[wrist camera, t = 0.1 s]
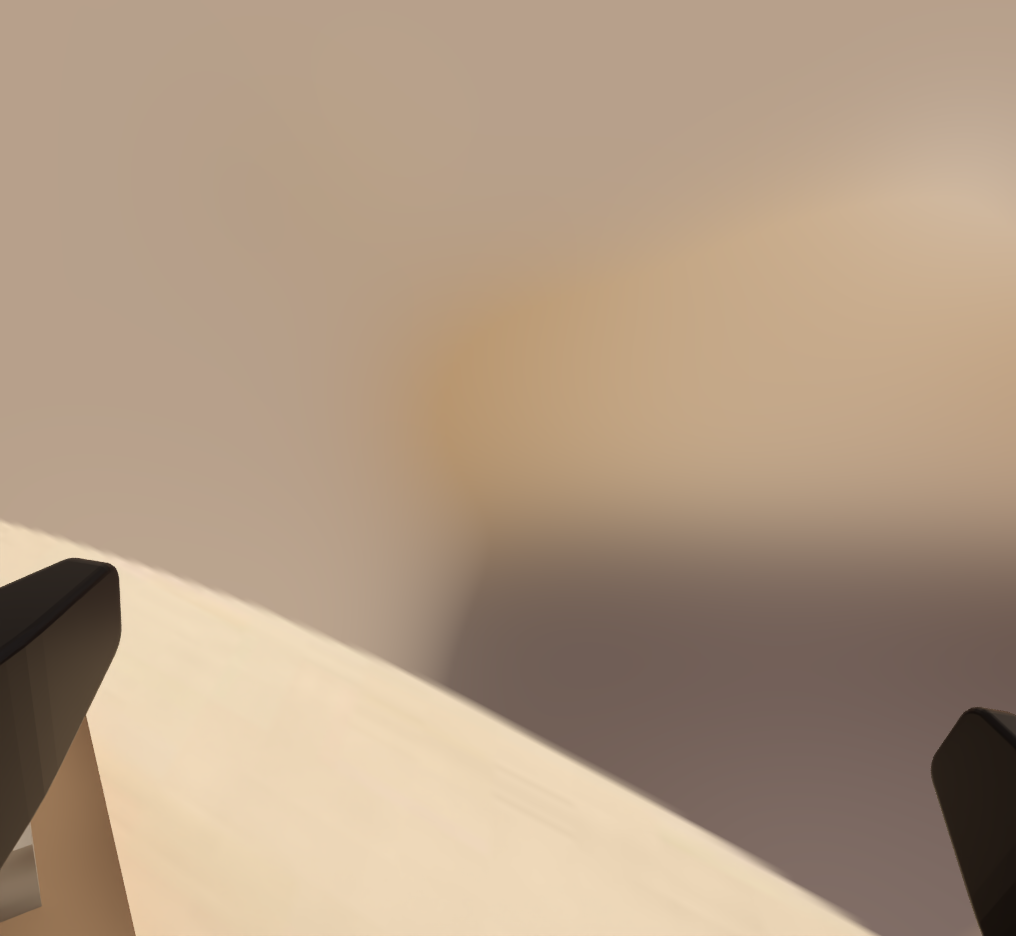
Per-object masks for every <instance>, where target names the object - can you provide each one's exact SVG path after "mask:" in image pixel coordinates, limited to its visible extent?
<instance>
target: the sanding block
mask: <svg viewBox="0 0 1016 936" xmlns="http://www.w3.org/2000/svg"><path fill="white" fill-rule="evenodd" d="M41 906H42V903H41V896H40V889H39V881H38V874H37V867H36V859H35V852H34V844H33V837H32V830H31V822H30V823H29V825H28V827H27V828H26V830H25V831H24V833H23V835H22V836H21V838H20V839H19V841H18V843H17V844H16V846H15V847H14V849H13V851H12V852H11V854H10V856H9V857H8V859H7V860H6V862H5V864H4V865H3V867H2V868H1V870H0V923H1V922H3V921H6V920H8V919H11V918H14V917H16V916H19V915H21V914H24V913H26V912H29V911H31V910H34V909H36V908H39V907H41Z"/></svg>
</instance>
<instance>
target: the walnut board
mask: <svg viewBox="0 0 1016 936" xmlns="http://www.w3.org/2000/svg"><path fill="white" fill-rule="evenodd" d="M31 830H32V837H33V844H34V852H35V859H36V867H37V874H38V881H39V889H40V896H41V903H42V906H41V907H39V908H36V909H34V910H31V911H29V912H26V913H24V914H21V915H19V916H16V917H14V918H11V919H8V920H6V921H3V922H1V923H0V936H136V935H135V931H134V926H133V922H132V918H131V913H130V909H129V904H128V900H127V895H126V891H125V886H124V882H123V878H122V873H121V869H120V864H119V860H118V855H117V851H116V847H115V842H114V838H113V833H112V829H111V824H110V820H109V815H108V811H107V807H106V802H105V798H104V793H103V789H102V784H101V780H100V775H99V771H98V767H97V762H96V758H95V753H94V749H93V744H92V740H91V736H90V731H89V727H88V722H87V718H86V716H85V718H84V720H83V722H82V724H81V726H80V728H79V730H78V732H77V734H76V736H75V738H74V740H73V742H72V744H71V746H70V748H69V751H68V753H67V755H66V757H65V759H64V761H63V763H62V765H61V767H60V769H59V771H58V773H57V775H56V777H55V779H54V781H53V783H52V785H51V787H50V789H49V791H48V792H47V794H46V796H45V798H44V800H43V802H42V803H41V805H40V807H39V808H38V810H37V812H36V813H35V815H34V817H33V818H32V820H31Z"/></svg>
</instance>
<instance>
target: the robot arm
mask: <svg viewBox="0 0 1016 936" xmlns="http://www.w3.org/2000/svg"><path fill="white" fill-rule="evenodd" d="M120 638H121V608H120V588H119V576H118V572H117V570H116V568H115V567H114V566H113V565H111V564H109V563H105V562H99V561H93V560H87V559H81V558H68V559H66V560H63V561H60V562H58V563H56V564H53V565H51V566H49V567H46V568H44V569H42V570H39V571H37V572H35V573H32V574H30V575H28V576H26V577H23V578H21V579H19V580H16V581H14V582H12V583H9V584H7V585H5V586H2V587H0V870H1V868H2V867H3V865H4V864H5V862H6V860H7V859H8V857H9V856H10V854H11V852H12V851H13V849H14V847H15V846H16V844H17V843H18V841H19V839H20V838H21V836H22V835H23V833H24V831H25V830H26V828H27V827H28V825H29V823H30V822H31V820H32V818H33V817H34V815H35V813H36V812H37V810H38V808H39V807H40V805H41V803H42V802H43V800H44V798H45V796H46V794H47V792H48V791H49V789H50V787H51V785H52V783H53V781H54V779H55V777H56V775H57V773H58V771H59V769H60V767H61V765H62V763H63V761H64V759H65V757H66V755H67V753H68V751H69V748H70V746H71V744H72V742H73V740H74V738H75V736H76V734H77V732H78V730H79V728H80V726H81V724H82V722H83V720H84V718H85V716H86V713H87V711H88V709H89V707H90V705H91V703H92V701H93V699H94V697H95V695H96V693H97V691H98V689H99V687H100V685H101V683H102V681H103V678H104V676H105V674H106V672H107V670H108V668H109V666H110V664H111V662H112V660H113V658H114V656H115V654H116V651H117V648H118V645H119V642H120ZM931 778H932V782H933V785H934V788H935V792H936V795H937V798H938V801H939V804H940V807H941V811H942V814H943V817H944V820H945V823H946V827H947V830H948V833H949V836H950V839H951V842H952V845H953V849H954V852H955V855H956V858H957V861H958V865H959V867H960V871H961V874H962V877H963V880H964V884H965V887H966V890H967V893H968V896H969V899H970V903H971V905H972V908H973V911H974V914H975V917H976V920H977V923H978V926H979V928H980V931H981V934H982V936H1016V715H1015V714H1012V713H1010V712H1006V711H1001V710H995V709H988V708H982V707H973V708H970V709H968V710H967V711H965V712H964V713H963V714H962V715H961V716H960V718H959V720H958V721H957V722H956V724H955V725H954V727H953V728H952V730H951V731H950V733H949V734H948V736H947V737H946V739H945V740H944V741H943V743H942V744H941V746H940V747H939V749H938V750H937V752H936V753H935V755H934V757H933V760H932V764H931Z"/></svg>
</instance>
